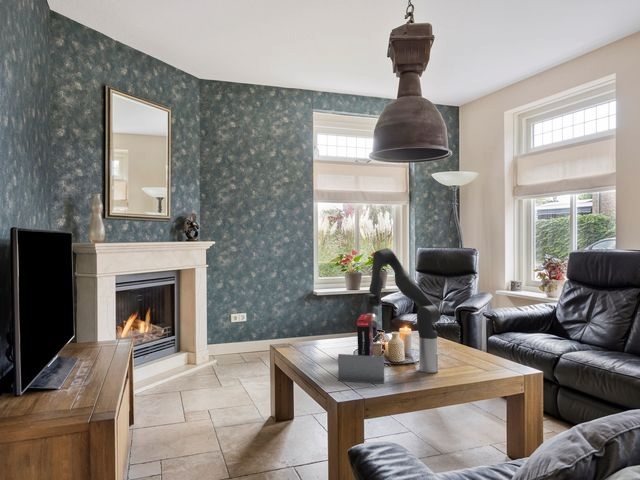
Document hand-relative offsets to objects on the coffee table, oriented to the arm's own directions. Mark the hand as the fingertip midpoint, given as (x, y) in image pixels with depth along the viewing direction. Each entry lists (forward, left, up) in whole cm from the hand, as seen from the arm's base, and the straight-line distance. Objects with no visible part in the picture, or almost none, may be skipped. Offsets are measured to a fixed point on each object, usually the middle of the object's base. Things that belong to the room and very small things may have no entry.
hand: (368, 349), depth 257 cm
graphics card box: (0, +14, -7) cm, 16 cm away
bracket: (0, +29, -7) cm, 30 cm away
